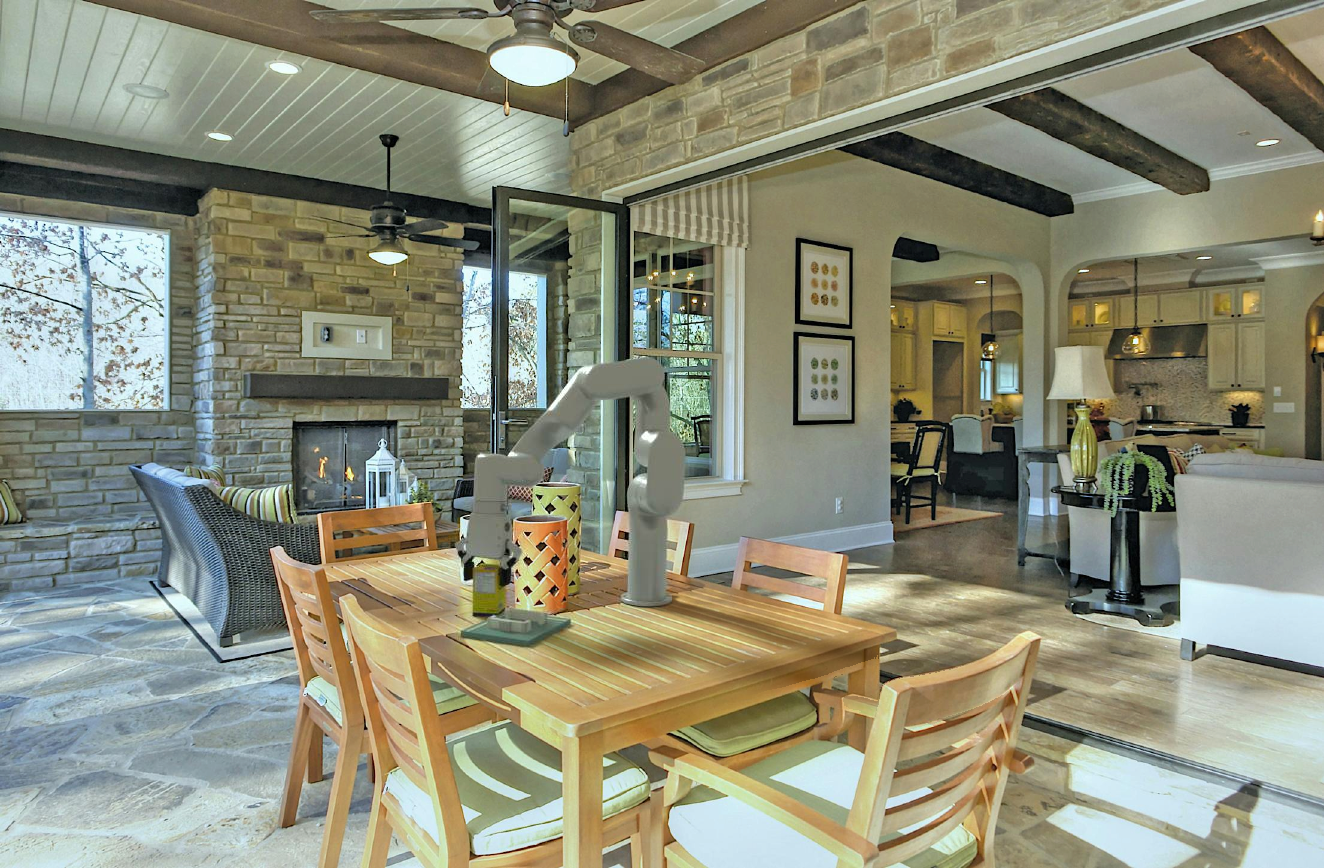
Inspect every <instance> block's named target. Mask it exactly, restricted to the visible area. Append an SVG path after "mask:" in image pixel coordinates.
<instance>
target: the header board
mask: <svg viewBox="0 0 1324 868" xmlns="http://www.w3.org/2000/svg"><path fill="white" fill-rule="evenodd" d="M571 623H572V621H571V618H565V617H559V616H552V615H551V616H550V615H548V612H543V611H535V610H528V609H522V608H521V609H520V608H513V607H510V608H508V609H505V611H503V612H502V613H501V614H499V615H496V616H494V615H493V616H488V617H487V619H485V620H483V621H480V622H478V623H476V624H474V625H471V626H469V627H466V628H464V629H462V630H460V637H461V638H467V637H468V638H469V639H472V640H473V639H474V640H475V639H476V640H480V641H489V642H494V643H498V644H499V643H501V644H507V645H513V646H520V647H526V648H528V647H532V646H533V645H535V644H537V643H538V642H540V641H542V640H544V639H546V638H548V637H550V636H553V635H554V634H555V633H557V632H559V631H561V630H563V629H565V628H567V627H568V626H570V625H571ZM468 638H467V639H468Z"/></svg>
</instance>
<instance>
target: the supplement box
mask: <svg viewBox="0 0 1324 868" xmlns="http://www.w3.org/2000/svg"><path fill="white" fill-rule="evenodd" d="M502 568H503V566H502V565H501V563H499V564H497V563H480V564H478V565H477V566H474V568H473V579H472V616H473V615H475V616H474V617H476V616H477V617H478V616H479V617H480V616H481V617H491V616H493V615H494V616H496V615H499V614H501V613H502V612H505V610H506V586H500V573H501V569H502Z"/></svg>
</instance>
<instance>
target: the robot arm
mask: <svg viewBox="0 0 1324 868" xmlns="http://www.w3.org/2000/svg"><path fill="white" fill-rule="evenodd" d="M664 381H665V370H664V367H663V365H662V364H661V363H660V361H658V360H656V359H655V358H653V357H649V356H648V357H646V356H645V357H633V358H629V359H625V360H621V361H613V362H601V363H593V364H591V363H590V364H586V365H583V366H582V367H581V368H579V369H578V370H577V371H576V372H575V373H574V375H573V376H572V377H571V378H570V380H568V383H566V385H565V386H564V388H563V389H562V390H561V391H560V392H559V394H558V395H557V397H556V398H555V399H554V401H553V402H552V403H551V405H550V406H549V407H548V408H547V409H546V411H545V412H544V413H542V415H541V416H540V417H539V418H538V419H536V421H535V423H534V424H533V425H532V426H531V427H530V428H528V430H526V431H525V433H524V434H523V435H522V436H521V437H520V438H519V440H518V441H517V443H516V444H515V445H514V447H513V448H512V449H511V450H510V452H509V453H508V455H507V456H506V455H504V454H502V453H480V454H478V455H476V457H475V459H474V473H473V474H474V476H473V477H474V479H473V480H474V481H473V500H472V501H473V502H472V512H471V513H470V515H469V519H468V523H467V529H466V534H465V535H466V536H465V538H462V539H460V540H458V541H456V542H454V546H455V549H456V551H457V555H458V557H459V558H460V560H461V563H462V564H463V581H464V582H468V581H473V568H475V567H476V566H475V563H476V562H475V561H474V559H475V558H482V559H489V560H497V561H499V564H501V565H502V566H503V568H502V569H501V573H500V586H505V587H506V586H508V585H509V586H510V584H511V581H512V568H513V567H514V566H515V565H516V564H517V563H518V562H519V561H520V557H521V555H522V554H523V549H521V548H520V547H519V546H517V545H516V544H514V542H513V527H512V526H513V525H512V520H511V515H510V514H508V512H510V511H511V510H512V505H510V504H508V486H514V487H520V488H532V487H535V486H537V485H539V484H540V482H542V480H543V479H544V476H545V466H544V464H543V462H542V461H543V460H544V459H545V457H546V456H547V455H548V454H549V453H550V452H551V451H552V450H553V449H554V448H555V447H556V446H557V445H558V444H560V443H562V442H563V441H566V440H568V439H569V438H570V437H572V436H573V435H574V434H576V432H577V431H578V430H579V429H580V427H581V426H582V425H583V423H584V422H585V420H587V418H588V417H589V416H590V414H591V413H592V411H593V410H594V409H595V408H596V406H597V405H598V403H600V401H608V400H617V399H623V398H629V397H630V398H631V399H632V401H633V404H634V407H635V431H634V432H635V433H634V444H633V446H634V447H633V453H634V454H633V455H634V458H635V460H636V462H638V464H640V465H641V466H643V467H646V472H644V473H641V474H638V475H636V476H635V477H634V478H633V479H632V480H631V481H630V483H629V485H628V488H627V493H626V498H627V499H626V500H627V510H628V556H627V557H628V562H627V563H628V564H627V591H626V592H624V593H622V594H621V596H620V600H621V602H623V603H625V604H627V605H630V606H636V607H659V606H666V605H669V604H670V603H671V602H672V601H673V596H672V595H671V594H669V593H667V586H668V585H669V581H668V579H667V562H668V559H667V558H668V533H669V532H668V518H667V517H670V516H672V515H674V514H675V513H676V512H677V511H679V509H680V507H681V505H682V502H683V499H684V498H683V497H684V491H685V490H684V489H685V479H686V478H685V474H686V457H687V456H686V449H685V446H684V443H683V441H682V439H681V438H680V437H679V436H678V434H676V433H674V432H672V431H671V405H670V399H669V396H668V393H667V391H666V389H665V387H664V386H663V383H664ZM464 546H465V547H464ZM511 556H512V557H511Z"/></svg>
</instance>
